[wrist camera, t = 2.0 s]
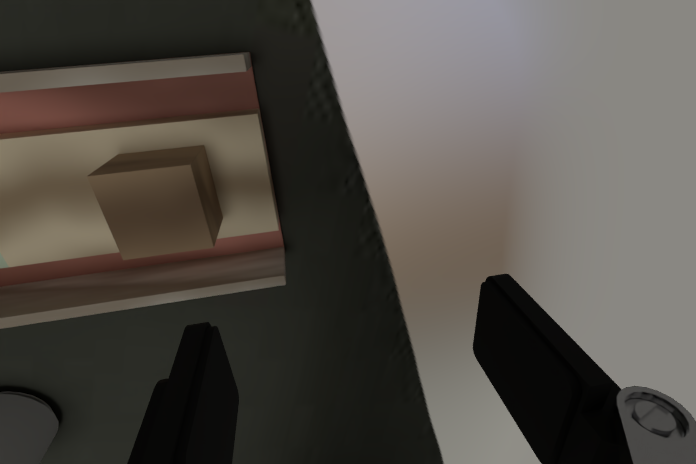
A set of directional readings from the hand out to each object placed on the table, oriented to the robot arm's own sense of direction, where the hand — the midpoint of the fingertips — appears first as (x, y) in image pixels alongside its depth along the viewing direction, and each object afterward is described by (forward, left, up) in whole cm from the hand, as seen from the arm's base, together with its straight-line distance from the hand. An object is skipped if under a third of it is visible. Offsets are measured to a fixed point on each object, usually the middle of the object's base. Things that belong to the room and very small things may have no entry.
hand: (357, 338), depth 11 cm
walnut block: (0, +9, -15) cm, 18 cm away
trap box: (0, +15, -18) cm, 24 cm away
